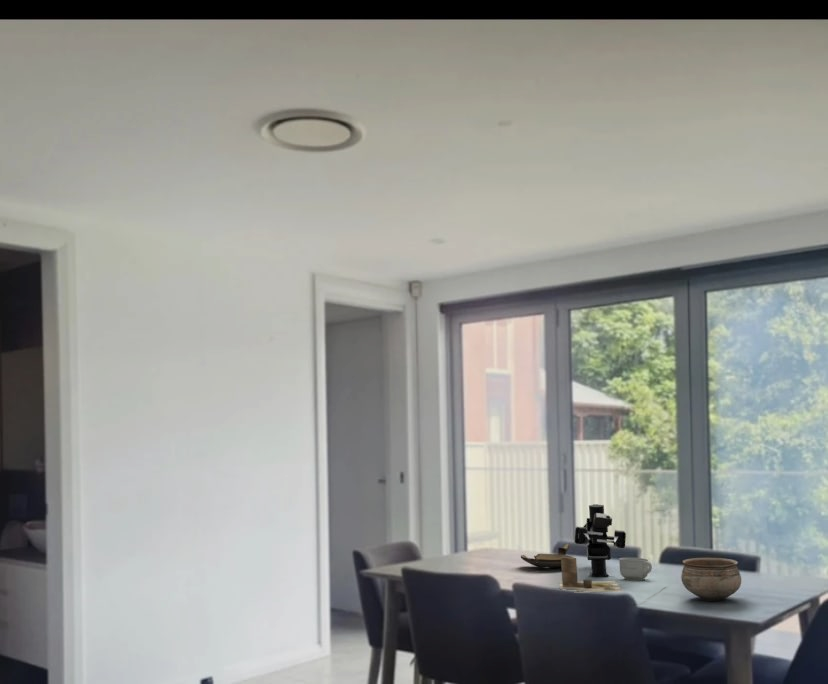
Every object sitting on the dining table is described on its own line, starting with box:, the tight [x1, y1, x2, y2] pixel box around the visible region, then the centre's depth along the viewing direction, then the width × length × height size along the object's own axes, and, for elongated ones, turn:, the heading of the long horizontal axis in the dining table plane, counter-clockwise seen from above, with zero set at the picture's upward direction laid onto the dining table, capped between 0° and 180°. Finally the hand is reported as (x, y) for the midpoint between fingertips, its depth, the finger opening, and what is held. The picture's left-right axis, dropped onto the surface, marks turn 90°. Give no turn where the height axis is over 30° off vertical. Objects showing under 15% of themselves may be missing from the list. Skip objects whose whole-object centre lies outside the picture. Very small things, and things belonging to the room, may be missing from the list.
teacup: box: [618, 557, 653, 581], centre depth 308 cm, size 14×11×8 cm
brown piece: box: [560, 557, 611, 588], centre depth 292 cm, size 18×3×10 cm, turn 58°
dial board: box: [558, 580, 624, 593], centre depth 293 cm, size 20×21×1 cm
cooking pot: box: [680, 557, 742, 602], centre depth 269 cm, size 25×19×12 cm
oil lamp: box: [520, 543, 575, 569], centre depth 346 cm, size 22×30×8 cm
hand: (601, 542), depth 298 cm, fingers open, 9 cm apart
